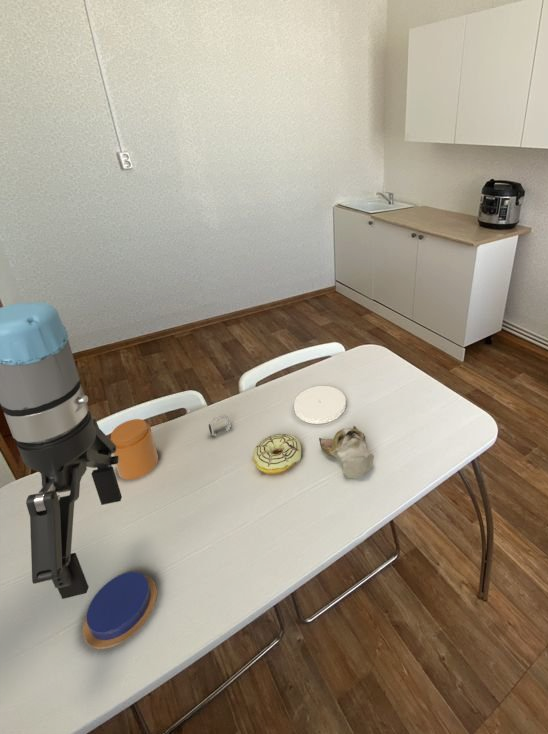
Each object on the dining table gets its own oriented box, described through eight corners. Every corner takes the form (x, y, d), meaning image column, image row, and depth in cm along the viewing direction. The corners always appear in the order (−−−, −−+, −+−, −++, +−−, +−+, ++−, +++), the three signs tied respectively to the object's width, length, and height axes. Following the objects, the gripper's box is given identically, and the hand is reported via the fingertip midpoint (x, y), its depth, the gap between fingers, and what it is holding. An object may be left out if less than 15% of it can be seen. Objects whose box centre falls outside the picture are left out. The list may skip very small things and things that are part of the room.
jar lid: (162, 587, 63) (160, 580, 62) (120, 648, 55) (117, 640, 55) (122, 573, 65) (119, 565, 64) (76, 629, 57) (72, 622, 57)
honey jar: (110, 477, 85) (98, 439, 81) (138, 450, 92) (129, 414, 88) (139, 485, 83) (128, 446, 79) (166, 457, 90) (157, 420, 86)
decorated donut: (310, 463, 87) (309, 450, 86) (265, 487, 82) (264, 473, 80) (289, 436, 95) (288, 424, 94) (248, 456, 89) (246, 443, 88)
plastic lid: (289, 400, 108) (288, 393, 108) (336, 388, 113) (335, 381, 113) (302, 433, 96) (301, 425, 95) (353, 418, 101) (353, 410, 100)
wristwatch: (209, 434, 96) (206, 418, 95) (229, 426, 99) (226, 410, 97) (213, 441, 94) (210, 425, 92) (233, 432, 97) (230, 416, 95)
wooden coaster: (67, 638, 57) (66, 635, 57) (123, 570, 66) (122, 567, 66) (121, 661, 55) (119, 657, 54) (171, 586, 64) (170, 583, 63)
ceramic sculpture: (339, 460, 77) (314, 418, 90) (341, 495, 79) (317, 449, 92) (385, 443, 81) (355, 405, 94) (386, 476, 83) (357, 435, 96)
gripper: (37, 504, 37) (91, 636, 45) (119, 365, 60) (146, 468, 67) (-57, 522, 35) (16, 656, 43) (64, 372, 58) (98, 477, 66)
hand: (95, 542), depth 55 cm, fingers open, 13 cm apart
